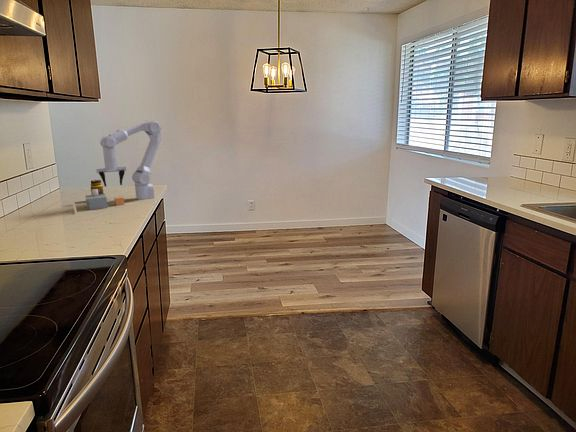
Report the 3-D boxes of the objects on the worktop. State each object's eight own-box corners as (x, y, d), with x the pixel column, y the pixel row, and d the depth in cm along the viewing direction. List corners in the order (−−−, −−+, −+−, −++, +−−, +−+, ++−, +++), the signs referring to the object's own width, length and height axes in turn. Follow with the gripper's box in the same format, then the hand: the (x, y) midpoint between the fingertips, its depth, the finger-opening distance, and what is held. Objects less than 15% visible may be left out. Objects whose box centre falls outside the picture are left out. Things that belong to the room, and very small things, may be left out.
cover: (105, 204, 229) (103, 187, 227) (107, 207, 221) (105, 190, 219) (86, 206, 225) (84, 188, 223) (88, 210, 217) (85, 192, 215)
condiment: (103, 203, 237) (100, 181, 234) (87, 203, 236) (83, 182, 233) (106, 200, 244) (104, 179, 241) (91, 201, 243) (88, 179, 240)
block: (123, 203, 231) (122, 196, 230) (124, 205, 227) (123, 197, 226) (115, 204, 229) (114, 197, 228) (116, 206, 226) (115, 198, 225)
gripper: (95, 161, 219) (99, 188, 223) (126, 159, 226) (128, 185, 229) (94, 160, 225) (97, 186, 229) (124, 158, 232) (126, 183, 235)
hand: (113, 185), depth 229 cm, fingers open, 7 cm apart
